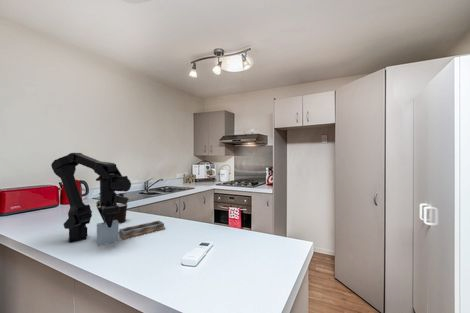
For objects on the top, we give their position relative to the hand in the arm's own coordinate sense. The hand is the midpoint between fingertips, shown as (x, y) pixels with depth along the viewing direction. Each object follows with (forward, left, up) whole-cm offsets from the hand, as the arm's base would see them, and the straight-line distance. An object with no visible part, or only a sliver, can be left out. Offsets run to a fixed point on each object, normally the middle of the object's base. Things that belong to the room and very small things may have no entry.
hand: (107, 224), depth 94 cm
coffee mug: (+12, +30, -8) cm, 33 cm away
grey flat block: (0, 0, -8) cm, 8 cm away
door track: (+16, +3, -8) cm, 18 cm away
